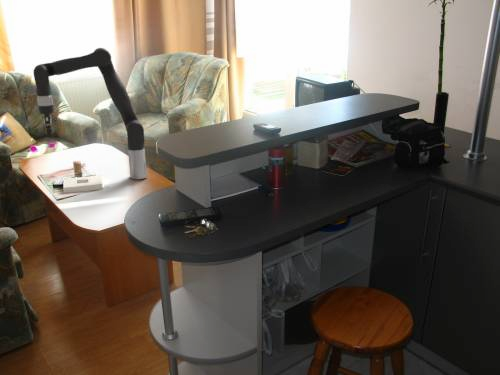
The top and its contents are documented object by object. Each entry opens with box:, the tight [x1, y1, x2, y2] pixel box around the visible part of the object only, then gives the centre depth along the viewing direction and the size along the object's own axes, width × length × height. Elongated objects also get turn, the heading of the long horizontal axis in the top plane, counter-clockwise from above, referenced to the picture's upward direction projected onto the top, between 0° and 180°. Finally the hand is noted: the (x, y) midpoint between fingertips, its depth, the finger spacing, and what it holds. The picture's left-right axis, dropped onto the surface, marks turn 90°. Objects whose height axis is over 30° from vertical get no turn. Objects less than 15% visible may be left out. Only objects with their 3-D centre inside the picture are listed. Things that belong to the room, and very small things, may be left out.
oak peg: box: [72, 160, 83, 178], centre depth 286 cm, size 4×4×10 cm
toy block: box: [29, 142, 56, 153], centre depth 333 cm, size 15×6×8 cm, turn 129°
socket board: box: [62, 174, 104, 194], centre depth 275 cm, size 20×16×3 cm
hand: (49, 134), depth 265 cm, fingers open, 8 cm apart
